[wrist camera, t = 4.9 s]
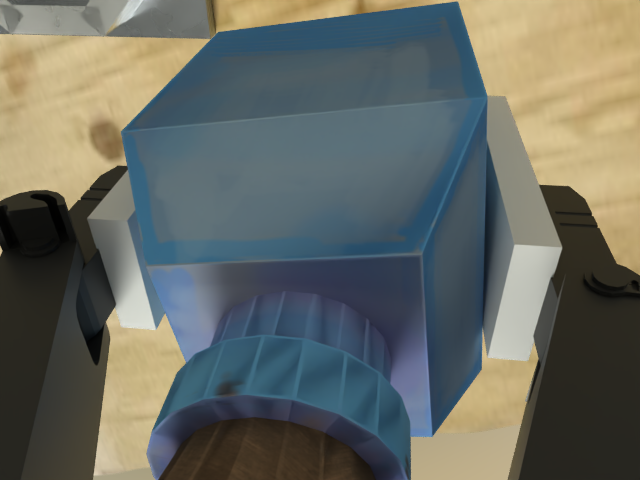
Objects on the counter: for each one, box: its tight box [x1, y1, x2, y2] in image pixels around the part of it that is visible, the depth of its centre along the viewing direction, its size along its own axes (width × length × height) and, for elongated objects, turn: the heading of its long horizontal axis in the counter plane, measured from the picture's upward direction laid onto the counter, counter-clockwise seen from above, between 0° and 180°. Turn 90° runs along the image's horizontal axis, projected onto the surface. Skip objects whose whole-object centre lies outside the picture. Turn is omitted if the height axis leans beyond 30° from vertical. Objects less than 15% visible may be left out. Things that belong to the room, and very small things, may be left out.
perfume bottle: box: [121, 2, 488, 480], centre depth 11 cm, size 6×6×12 cm
